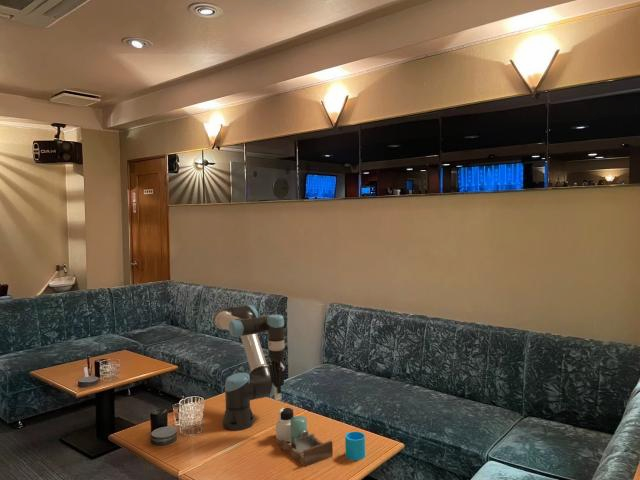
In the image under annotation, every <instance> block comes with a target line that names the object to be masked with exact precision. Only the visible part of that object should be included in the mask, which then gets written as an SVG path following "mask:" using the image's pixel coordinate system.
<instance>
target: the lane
mask: <svg viewBox="0 0 640 480" xmlns="http://www.w3.org/2000/svg"><path fill="white" fill-rule="evenodd" d="M308 434H310V433H309V432H308ZM275 440H276V445H277V446H278V447H280V448H281V449H282V450H283V451H284V452H286V453H287V454H288V455H290V456H291V457H292V458H294V459H295V460H296V461H297V462H299V463H300V464H301V465H303V466H304V467H308V466H310V465H313V464H315V463H318V462H320V461H323V460H327V459H329V458H331V457H333V448H334V447H333V441H332V440H329V441H325V442H323V441H321V440H319V439H318V438H316V437H315V436H314V443H315V446H314V447H311V448H308V449H306V450H303V452H301V453H300V452H299V451H297V450H296V449H295V448H293V447H292V446H291V444H289V442H285V441H284V440H282V439H281V438H280V437H277V438H276V437H275Z"/></svg>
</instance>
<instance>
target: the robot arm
mask: <svg viewBox="0 0 640 480" xmlns="http://www.w3.org/2000/svg"><path fill="white" fill-rule="evenodd" d="M213 324H214V326H215V327H216V328H217V329H219V330H227V331H228V332H229V335H230V336H231V337H234V338H235V337H238V338H239V337H240V338H241V341H242V344H243V349H244V352H245V354H246V355H245V356H246V359H247V361H248V365H249V369H250V371H249V373H248V372H236V373H234V374H232V375H230V376H228V377H227V378H226V380H225V383H224V384H225V385H224V391H225V392H224V393H225V410H224V413H223V414H224V415H223V417H222V427H223V428H224V429H226V430H230V431H241V430H245V429H248V428H251V427H252V426H253V425H254V424H255V417H254V413H253V411H252V408H251V401H252V400H258V399H263V398H269V397H272V396H273V397H274V401H277V402H278V401H281V400H282V386H284V385H285V375H286V370H287V366H286V365H284V361H283V359H284V358H285V356H286V355H285V354H286V353H285V351H286V350H285V347H286V345H285V344H286V343H285V319H284V315H282V314H270V315H267V314H263V315H260V316H259V313H258V311H257V308H256V307H255V306H254V305H251V304H249V305H248V304H244V305H238V306H236V305H235V306H227V307H223V308H220V309H219V310H217V311H216V312H215V314H214V316H213ZM263 333H266V334H267V346H268V347H267V348H268V350H267V351H268V354H267V355H268V358H269V359H270V360H269V361H267V360H266V358H265V354H264V351H263V348H262V345H261V342H260V338H259V335H258V334H263Z"/></svg>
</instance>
